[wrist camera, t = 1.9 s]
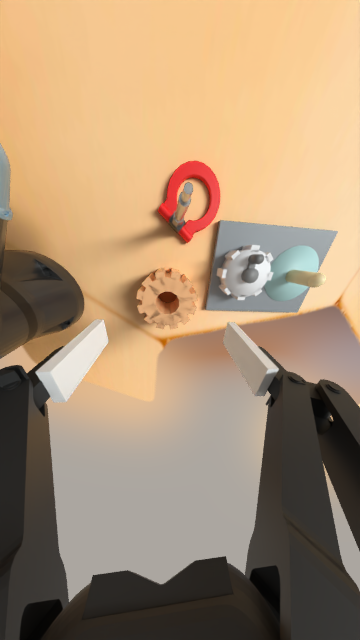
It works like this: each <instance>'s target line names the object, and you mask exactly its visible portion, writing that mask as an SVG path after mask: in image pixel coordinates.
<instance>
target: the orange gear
mask: <svg viewBox="0 0 360 640" xmlns="http://www.w3.org/2000/svg"><path fill="white" fill-rule="evenodd" d="M180 276H181V274H180V272H179V270H176V269H173V268H172V269H171V272H170V273H166V270H165V268H161V269H158V270H157V271H156V272H155V275H154V274H153V273H151V274H150V275H149V276H148V277H147V278H146V279H145V280H144V281H143V283H142V286H141V287H140V289H139V290H138V292H137V298H136V299H139V300H140V302H139V304H138V305H137V307H138V310H139V313H144V312H145V313H146V315H145V318H144V320H145V321H147V322H148V323H149V324H151V323H152V322H153V321H154V322H156V323H157V326H156V328H161V329H164V326H165V325H169V326H170V329H174V328H178V325H177V323H179V322H182V323H183V324H186V323H187V322H188V321H189V316H188V314H193V315H194V313H195V311H196V308H197V307H196V306H195V304H194V301H197V294H196V292H195V290H194V289H193V285H192V284H191V282H190V281H189V280H188V278H187V277H186V276H185V275H182V276H181V277H180ZM163 292H172V293H174V294H175V295H177V298H176V299H175V301H173V302H171V303H165V302H163V301H161V300H160V298H159V296H158V295H159V294H161V293H163Z"/></svg>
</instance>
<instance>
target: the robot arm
mask: <svg viewBox="0 0 360 640" xmlns="http://www.w3.org/2000/svg"><path fill="white" fill-rule="evenodd" d="M9 200H10V164H9V160H8V157H7V155H6V153H5V151H4V149H3V147H2V146H1V144H0V359H1V358H2V357H4V356H5V355H7V354H9V353H10V352H12V351H13V350H15V349H17V348H18V347H20V346H21V345H23V344H25V343H26V342H28V341H29V340H31V339H34V338H38V337H41V336H45V335H48V334H52V333H55V332H59V331H62V330H64V329H66V328H68V327H70V326H71V325H73V324H74V323H75V322H77V321H78V320H79V319H80V317H81V316H82V313H83V310H84V298H83V294H82V291H81V289H80V287H79V285H78V284H77V282H76V281H75V279H74V278H73V277H72V276H71V275H70V273H69V272H68V271H67V270H65V269H64V268H63V267H62V266H61V265H59V264H58V263H56V262H55V261H53V260H51V259H50V258H48V257H46V256H43V255H41V254H38V253H35V252H30V251H18V250H5V240H6V231H7V221H8V220H12V218H13V213H12V211H11V209H10V207H9ZM108 342H109V341H108V337H107V332H106V328H105V324H104V320H99V319H96V320H94V321H93V322H92V323H91V324H90V325H89V326H88V327H86V328H85V329H84V330H83V331H82V332H81V333H80V334H78V335H77V336H76V337H75V338H74V339H73V340H72V341H70V342H69V343H68V344H67V345H66V346H62V347H60V348H58V349H56V350H55V351H53V352H52V353H51V354H50V355H49V356H47V357H46V358H45V359H44V360H43V361H41V362H40V363H39V364H38V365H36V366H35V367H34V368H33V369H32V370H31V371H29V372H28V373H26V372H25V370H24V369H23V367H22V366H19V365H14V366H9V367H5V368H3V369H1V370H0V640H360V591H359V589H358V587H357V585H356V584H355V582H354V581H353V580H352V578H351V577H350V576H349V574H348V573H347V572H346V570H345V567H344V565H343V563H342V559H341V555H340V550H339V545H338V540H337V534H336V529H335V524H334V519H333V513H332V508H331V503H330V498H329V493H328V488H327V482H326V477H325V472H324V466H323V463H324V465H325V468H326V470H327V473H328V475H329V478H330V480H331V483H332V485H333V487H334V490H335V492H336V495H337V497H338V499H339V502H340V504H341V507H342V509H343V512H344V514H345V516H346V519H347V521H348V524H349V526H350V529H351V531H352V533H353V536H354V538H355V541H356V543H357V546H358V548H359V551H360V407H359V406H358V405H357V404H356V402H355V401H354V400H353V399H352V397H351V396H350V395H349V394H348V393H347V392H346V391H345V390H344V389H343V388H342V387H340V386H339V385H338V384H335V383H334V382H331V381H328V380H320V381H319V382H318V384H314V383H309V382H306V381H305V380H304V379H303V378H302V377H300V376H299V375H297V374H295V373H292V372H287V371H286V370H285V369H284V368H283V367H282V366H281V365H280V364H279V363H278V362H277V361H276V360H275V359H274V358H273V357H272V356H271V355H270V354H269V353H268V352H267V351H266V350H265V349H263V348H262V347H259V346H256V344H255V343H254V342H253V341H252V340H251V339H250V338H249V337H248V336H247V335H246V334H245V333H244V332H243V331H242V330H241V329H240V328H239V327H238V326H237V324H236V323H235V322H228V323H227V327H226V332H225V336H224V339H223V344H224V345H225V347H226V349H227V350H228V352H229V354H230V355H231V357H232V359H233V360H234V362H235V364H236V365H237V367H238V369H239V370H240V372H241V374H242V375H243V377H244V379H245V380H246V382H247V384H248V385H249V387H250V389H251V390H252V392H253V394H254V395H255V396H265V394H266V392H267V390H268V391H269V393H270V394H271V396H270V397H269V399H268V401H267V403H266V405H268V404H269V405H268V414H267V422H266V431H265V440H264V449H263V458H262V468H261V477H260V485H259V494H258V504H257V512H256V521H255V528H254V532H253V534H252V537H251V540H250V544H249V550H248V555H247V563H246V571H245V575H244V574H243V573H242V572H241V571H240V570H238V569H237V568H235V567H234V566H233V565H231V564H229V563H227V560H226V556H225V557H218V558H211V559H205V560H197V561H194V562H193V563H191V564H190V565H188V566H187V567H186V568H184V569H183V570H182V571H180V572H179V573H178V574H176V575H175V576H174V577H172V578H171V579H170V580H168V581H167V582H166V583H164V584H159V583H156V582H154V581H152V580H149V579H147V578H145V577H143V576H141V575H139V574H136V573H133V572H131V571H128V570H127V571H120V572H114V573H106V574H99V575H93V577H92V581H91V583H90V584H89V585H87V586H86V587H85V588H84V589H82V590H81V591H80V592H79V593H78V594H77V595H76V596H75V597H74V598H73V599H72V600H71V601H70V602H69V599H68V589H67V579H66V573H65V569H64V564H63V562H62V559H61V557H60V553H59V547H58V534H57V523H56V509H55V498H54V485H53V472H52V459H51V447H50V434H49V421H48V409H47V404H46V403H45V402H46V401H47V400H48V399H49V397H51V399H52V400H53V402H66V401H67V400H68V399H69V397H70V396H71V394H72V393H73V392H74V390H75V389H76V387H77V386H78V385H79V383H80V382H81V380H82V379H83V377H84V376H85V375H86V373H87V372H88V370H89V369H90V368H91V366H92V365H93V363H94V362H95V360H96V359H97V358H98V356H99V355H100V353H101V352H102V350H103V349H104V348H105V346H106V345H107V343H108ZM331 415H332V417H333V421H332V419H331V417H330V416H331Z"/></svg>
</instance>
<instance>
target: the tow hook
mask: <svg viewBox="0 0 360 640" xmlns="http://www.w3.org/2000/svg"><path fill="white" fill-rule="evenodd" d="M188 178H198V179H200V180H201V181H203V182H204V184H205V185H206V186H207V189H208V191H209V195H210V203H209V208H208V210H207V213H206V214H205V215H204V216H203V217H202V218H201V219H199V220H195V221H192V220H189V221H187V223H186V224H185V221H184V215H185V213H186V211H187V209H188V207H189V204H190V202H191V194H192V192H193V185H192V184H191V183H190V182H188V183H186V184H185V186H184V189H183V192H181V194H180V195H179V199H178V204H177V192H178V189H179V187H180V185H181V184H182V183H183V182H184V181H185V180H186V179H188ZM219 203H220V189H219V183H218V181H217V178H216V176H215V174H214V173H213V171H212V170H211V169H210V168H209V167H208V166H207V165H205V164H204V163H202V162H198V161H188V162H186V163H184V164H182V165H180V166H179V167H178V168H177V169H176V170H175V172H174V173H173V175H172V177H171V178H170V181H169V185H168V189H167V199H166V201H165V202H164V203H162V204H161V205H160V207H159V209H158V212H159V213H160V214H161V215H162V217H163V218H164V219H165V220H166V221H167V222H168V223H169V225H170V226H171V227H172V228H173V229H174V230H175V231H176V232H177V233H179V235H180V236H181V237H182V238H183V239H184V240H185V241H186V242H187V243H188V242H189V241H190V240H191V239H192V237H193V236H192V235H193V234H194V233H195V232H198V231H200V230H202V229H204V228H206V227H207V226H208V225H209V224H210V223H211V222H212V220H213V219H214V218H215V216H216V213H217V211H218V208H219ZM184 224H185V226H184Z"/></svg>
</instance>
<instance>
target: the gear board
mask: <svg viewBox="0 0 360 640" xmlns="http://www.w3.org/2000/svg"><path fill="white" fill-rule="evenodd" d="M337 232H338V231H330V230H319V229H309V228H298V227H287V226H277V225H266V224H255V223H245V222H234V221H224V220H220V221H219V223H218V229H217V236H216V242H215V248H214V255H213V261H212V268H211V274H210V281H209V287H208V293H207V300H206V306H205V309H206V310H228V311H264V312H298V310H299V308H300V306H301V304H302V302H303V300H304V298H305V296H306V294H307V292H308V290H309V288H310V287H319V286H321V285H322V284H323V283H324V282H325V280H326V277H325V275H324V274H322V273H317V272H318V270H319V268H320V266H321V264H322V262H323V260H324V258H325V256H326V254H327V252H328V250H329V248H330V246H331V244H332V242H333V240H334V238H335V236H336V234H337Z"/></svg>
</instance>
